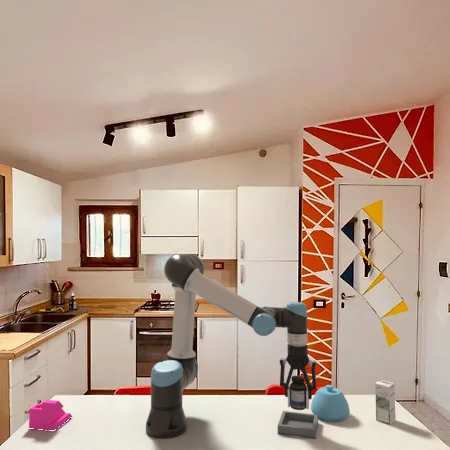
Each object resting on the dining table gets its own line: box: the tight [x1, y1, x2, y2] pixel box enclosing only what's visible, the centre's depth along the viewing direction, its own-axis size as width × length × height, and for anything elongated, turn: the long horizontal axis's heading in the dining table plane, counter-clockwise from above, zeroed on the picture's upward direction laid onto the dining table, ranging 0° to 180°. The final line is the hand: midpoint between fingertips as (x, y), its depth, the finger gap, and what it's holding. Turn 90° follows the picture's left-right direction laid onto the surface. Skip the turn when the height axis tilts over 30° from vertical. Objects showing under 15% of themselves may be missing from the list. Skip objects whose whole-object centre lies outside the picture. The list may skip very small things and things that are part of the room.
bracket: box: [28, 399, 73, 430], centre depth 152 cm, size 12×10×10 cm
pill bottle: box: [289, 375, 307, 411], centre depth 148 cm, size 6×6×11 cm
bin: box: [277, 410, 319, 440], centre depth 148 cm, size 13×13×3 cm
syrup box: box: [374, 379, 396, 425], centre depth 155 cm, size 6×6×14 cm
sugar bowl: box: [310, 384, 351, 423], centre depth 160 cm, size 15×15×12 cm
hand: (298, 406), depth 148 cm, fingers closed on pill bottle, 6 cm apart
